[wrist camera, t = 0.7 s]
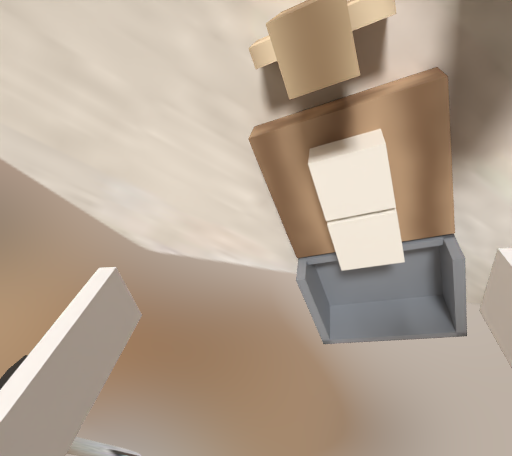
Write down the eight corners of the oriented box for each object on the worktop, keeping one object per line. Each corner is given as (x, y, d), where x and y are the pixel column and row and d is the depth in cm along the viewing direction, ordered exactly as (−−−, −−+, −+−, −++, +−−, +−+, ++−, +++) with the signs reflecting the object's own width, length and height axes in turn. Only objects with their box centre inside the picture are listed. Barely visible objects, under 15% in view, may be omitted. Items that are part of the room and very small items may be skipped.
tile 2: (380, 128, 26) (385, 143, 24) (390, 189, 30) (396, 207, 27) (309, 148, 28) (308, 163, 26) (326, 203, 32) (325, 221, 29)
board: (437, 67, 26) (447, 76, 23) (446, 215, 33) (454, 233, 31) (254, 126, 31) (248, 138, 29) (298, 241, 39) (296, 258, 37)
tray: (446, 219, 34) (465, 258, 29) (451, 294, 40) (466, 336, 35) (300, 244, 39) (296, 280, 35) (324, 306, 46) (323, 344, 41)
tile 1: (391, 193, 30) (396, 212, 27) (399, 241, 33) (405, 262, 31) (327, 207, 32) (327, 225, 30) (340, 251, 35) (341, 270, 33)
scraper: (382, -36, 22) (413, -43, 14) (390, 27, 25) (421, 54, 16) (252, 23, 26) (215, 46, 18) (269, 73, 28) (242, 115, 20)
